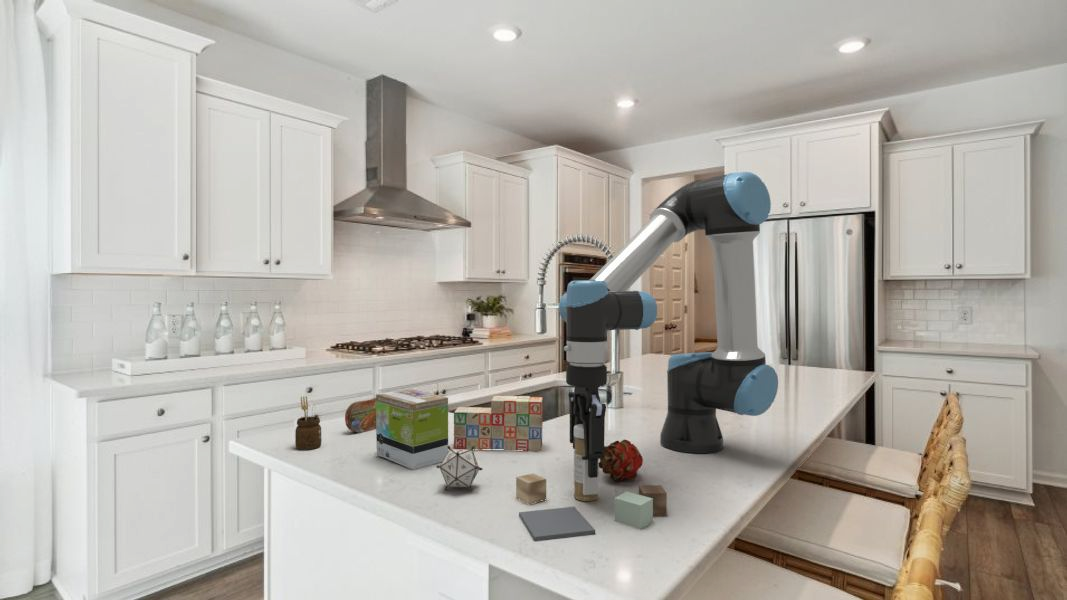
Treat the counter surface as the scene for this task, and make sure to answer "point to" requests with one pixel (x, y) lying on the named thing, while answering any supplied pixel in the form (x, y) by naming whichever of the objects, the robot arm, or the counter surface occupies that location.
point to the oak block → (530, 488)
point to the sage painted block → (633, 510)
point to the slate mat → (556, 523)
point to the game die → (459, 468)
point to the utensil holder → (307, 430)
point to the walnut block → (655, 498)
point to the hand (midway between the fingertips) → (585, 488)
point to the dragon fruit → (621, 460)
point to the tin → (361, 416)
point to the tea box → (412, 427)
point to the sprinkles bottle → (580, 465)
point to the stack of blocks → (501, 424)
